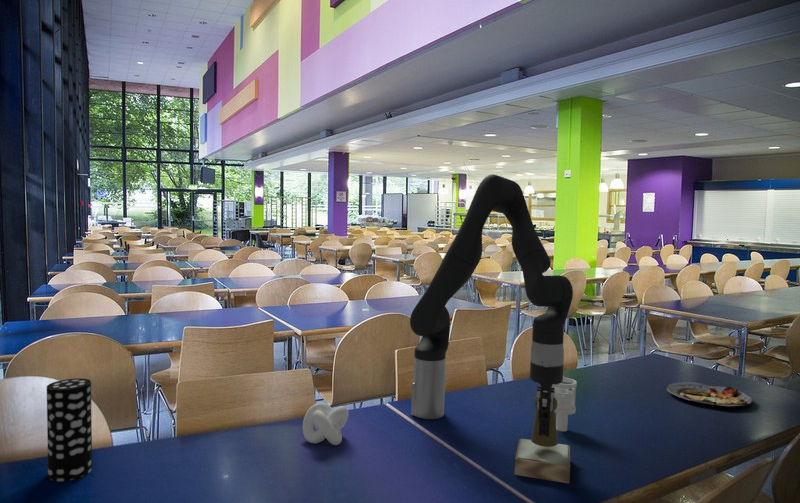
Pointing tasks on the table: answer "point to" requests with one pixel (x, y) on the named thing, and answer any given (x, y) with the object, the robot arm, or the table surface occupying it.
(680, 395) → the food plate
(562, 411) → the grey mechanical part
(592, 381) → the table surface
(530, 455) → the base block
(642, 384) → the table surface
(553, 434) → the cork
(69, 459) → the white-spotted black cylinder
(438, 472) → the table surface
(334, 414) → the grey torus knot
